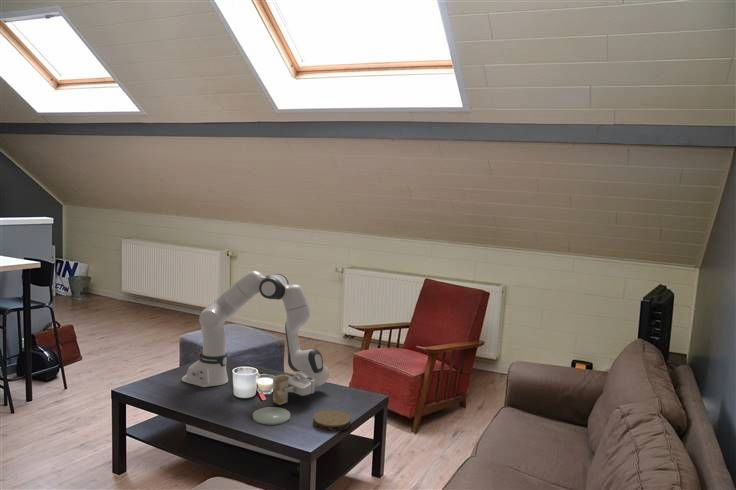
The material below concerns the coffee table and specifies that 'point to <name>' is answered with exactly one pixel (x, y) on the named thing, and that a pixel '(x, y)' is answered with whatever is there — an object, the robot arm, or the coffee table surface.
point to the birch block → (280, 389)
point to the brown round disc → (331, 420)
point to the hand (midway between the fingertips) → (279, 388)
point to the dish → (271, 415)
